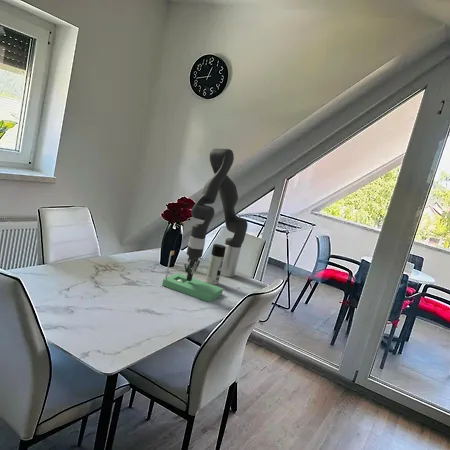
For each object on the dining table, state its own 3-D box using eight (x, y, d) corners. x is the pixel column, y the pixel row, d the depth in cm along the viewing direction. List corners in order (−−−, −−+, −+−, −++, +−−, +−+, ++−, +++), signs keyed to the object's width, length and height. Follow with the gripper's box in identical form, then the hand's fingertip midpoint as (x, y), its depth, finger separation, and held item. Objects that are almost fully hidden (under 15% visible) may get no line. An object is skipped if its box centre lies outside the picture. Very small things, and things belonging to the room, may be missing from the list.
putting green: (177, 278, 215) (183, 246, 212) (221, 294, 206) (229, 261, 203) (162, 285, 201) (168, 251, 198) (209, 302, 192) (217, 266, 189)
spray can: (216, 285, 217) (224, 248, 213) (204, 282, 218) (211, 245, 214) (219, 282, 223) (227, 246, 219) (207, 279, 224) (215, 242, 221)
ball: (182, 285, 207) (177, 283, 208) (184, 280, 206) (179, 277, 207) (179, 287, 204) (174, 284, 205) (181, 282, 203) (176, 279, 204)
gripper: (194, 242, 208) (188, 275, 211) (182, 245, 196) (175, 281, 199) (208, 246, 206) (201, 280, 209) (197, 250, 193) (189, 286, 196)
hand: (188, 280), depth 204 cm, fingers closed
